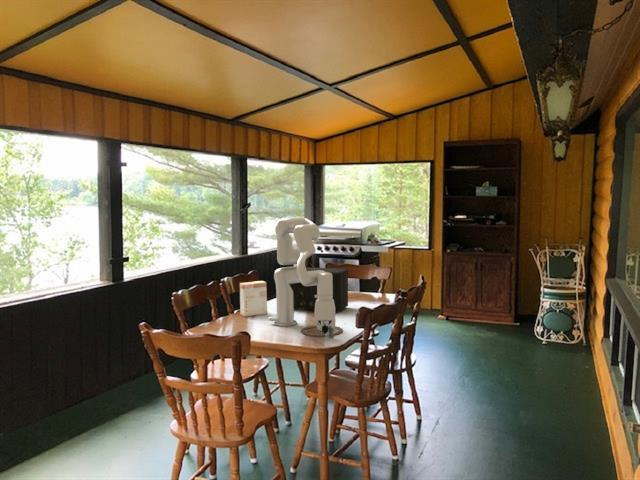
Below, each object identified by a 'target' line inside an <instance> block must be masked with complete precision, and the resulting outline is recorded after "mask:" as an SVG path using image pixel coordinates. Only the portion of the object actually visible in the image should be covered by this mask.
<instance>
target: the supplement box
mask: <svg viewBox="0 0 640 480" xmlns="http://www.w3.org/2000/svg"><path fill="white" fill-rule="evenodd" d="M326 322H327V321H324V324H325V325H326ZM316 325H317V327H316V330H318V331H321V332H322V326H321V324H320V323H319V322H316ZM328 326H331V327H332V328H333V331H335V330H336V329H335V326H336V322H333V323H330V324H329V325H328ZM328 332H329V327H328Z"/></svg>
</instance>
